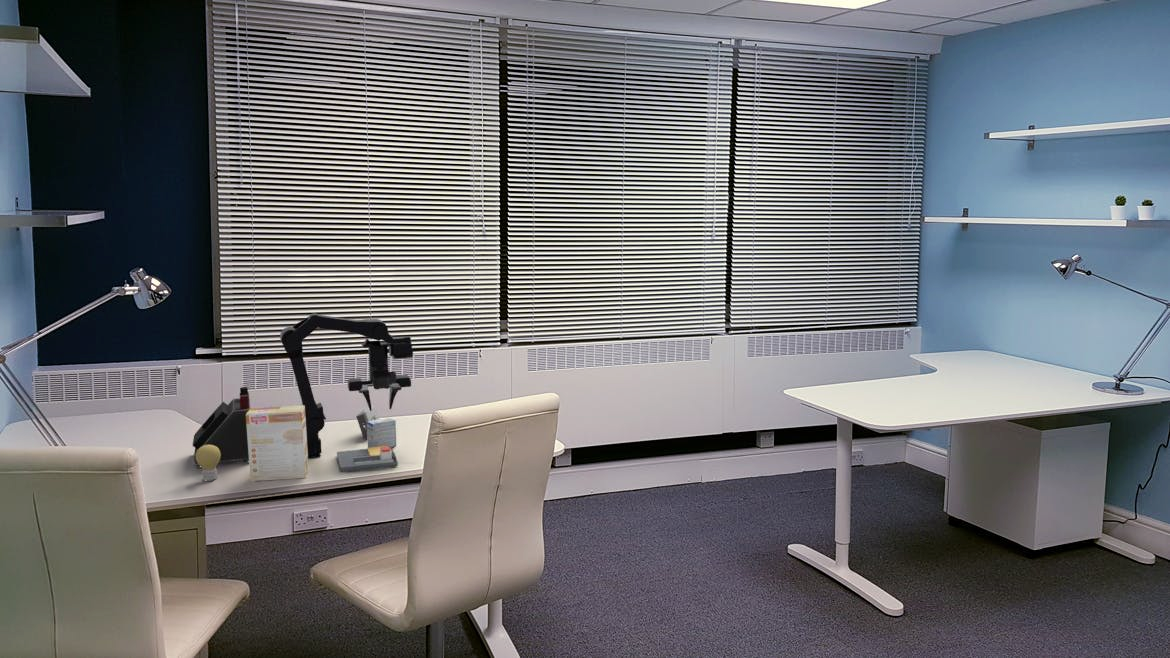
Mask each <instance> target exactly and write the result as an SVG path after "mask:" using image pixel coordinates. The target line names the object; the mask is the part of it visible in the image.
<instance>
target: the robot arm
mask: <svg viewBox="0 0 1170 658" xmlns="http://www.w3.org/2000/svg"><path fill="white" fill-rule="evenodd" d="M317 329H323V330H329V331H330V330H332V331H339V332H346V333H350V334H351V333H353V334H357V335H361V336H363V337H365V338H366V339H365V340H364V341H363V342H362V343H361V346H362V348H365V349H366V348H368V350H367V351H368V369H369V370H368V371H369V372H368V373H369V380H368V379H367V380H362V378H361V377H360V378H359V377H355V378H349V379H347V389H348V391H349V392H358V393H359V394H362V395H363V397H364V399H365V401H366V403H367V406H368V408H369V409H370V411H372V409H371V406H372V402H371V396H370V390H369V387H373V389H374V390H380V389H385V390H387V389H389V396H388V397H389V399H388V407H389V408H388V409H389V410H392V407H393V403H394V401H395V397H396V396H397V393H398V391H402V388H411V387H412V379H411V377H410V376H409V375H408V374H397V372H396V371H389V357H392V358H393V360H402V359H403V360H405V359H413V356H414V348H413V344H412V339H411V336H409V335H408V336H402V337H393V336H392V334H390V333H389V327H388V325H386V323H385V322H384V321H382V320H381V319H379V318H366V319H351V318H343V317H339V316H338V317H337V316H330V315H323V314H319V313H318V314H317V313H315V312H314V313H311V314H309V315H308V316H307V317H306V318H304V319H302V320H300V321H298V322H297V323H296V324H294V325H293V326H287V327H284V328H283V329H282V330H281V331H280V334H279V339H280V342H281V344H282V346H283V348H284V350H285V352H286V354H287V356H288V358H289V361H290V363H291V367H292V371H293V374H294V379H295V382H296V386H297V389H298V392H299V397H300V399H301V406H303V405H305V418H306V434H307V451H308V459H314V458H320V457H321V454H322V439H321V438H320V437H319V436H320V435H319V434H320V432H321V431H322V430H323V428H324V427H325V426H326V424H325V420H327V417H326V415H325V413H324V406H323V405H322V402H318V403H316V400H315V397H314V394H313V390H312V386H311V383H310V378H309V374H308V372H307V368H306V364H305V360H304V352H303V351H304V350H303V348H304V347H303V340H305V339H306V338H307V337H309V335H311V334H312V333H313V332H314V331H315V330H317ZM368 338H370V339H372V340H369V339H368ZM381 341H384V342H381Z"/></svg>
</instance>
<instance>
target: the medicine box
mask: <svg viewBox="0 0 1170 658" xmlns="http://www.w3.org/2000/svg"><path fill="white" fill-rule="evenodd" d="M396 423H397V421H396V419H394V418H391V417H383V418H379V419H378V420H373V421H369V422H367V438H366V439H367V440H366V441H367V442H366V443H367V448H368V447H378V446H389V447H391V448H394V447H397V425H396Z"/></svg>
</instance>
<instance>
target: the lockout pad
mask: <svg viewBox="0 0 1170 658" xmlns="http://www.w3.org/2000/svg"><path fill="white" fill-rule="evenodd" d="M381 447H384V446H378V447H368V446H367V448H366V449H368V452H369V455H370V456H373V455H380V449H381Z"/></svg>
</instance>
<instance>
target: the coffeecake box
mask: <svg viewBox="0 0 1170 658" xmlns="http://www.w3.org/2000/svg"><path fill="white" fill-rule="evenodd" d="M246 425H247V439H248V454H249V462H248V464H249V465H248V466H249V477H250V482H258V481H259V482H260V481H275V480H276V481H277V480H280V481H281V480H293V479H294V480H295V479H296V480H298V479H306V478H307V475H308V474H309V472H310V471H309V458H308V451H307V434H306V418H305V405H303V406H302V405H291V406H290V405H287V406H269V407H267V406H264V407H251V408H250V410H249V411H248V412H247V413H246Z"/></svg>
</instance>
